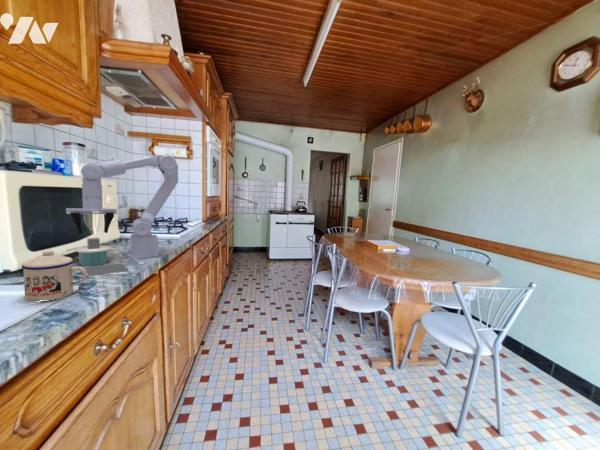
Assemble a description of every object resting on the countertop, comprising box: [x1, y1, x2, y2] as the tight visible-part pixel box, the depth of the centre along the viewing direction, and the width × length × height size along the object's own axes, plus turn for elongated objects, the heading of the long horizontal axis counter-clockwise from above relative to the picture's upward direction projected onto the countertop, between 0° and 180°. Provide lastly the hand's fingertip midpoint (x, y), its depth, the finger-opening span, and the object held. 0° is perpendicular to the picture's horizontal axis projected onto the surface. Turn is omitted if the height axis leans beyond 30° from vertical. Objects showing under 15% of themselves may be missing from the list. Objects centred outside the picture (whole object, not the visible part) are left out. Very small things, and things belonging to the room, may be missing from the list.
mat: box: [84, 263, 130, 277], centre depth 85 cm, size 10×10×1 cm
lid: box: [74, 237, 112, 254], centre depth 90 cm, size 10×10×4 cm
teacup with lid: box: [21, 249, 88, 302], centre depth 63 cm, size 12×9×12 cm
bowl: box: [78, 251, 108, 267], centre depth 90 cm, size 8×8×5 cm
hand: (93, 233), depth 94 cm, fingers open, 7 cm apart
